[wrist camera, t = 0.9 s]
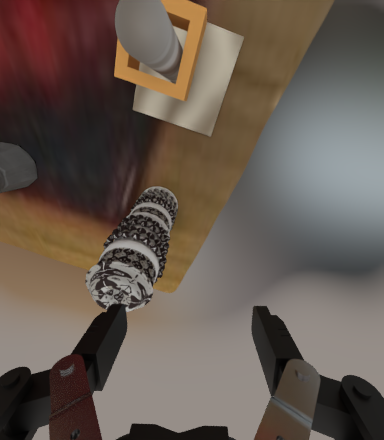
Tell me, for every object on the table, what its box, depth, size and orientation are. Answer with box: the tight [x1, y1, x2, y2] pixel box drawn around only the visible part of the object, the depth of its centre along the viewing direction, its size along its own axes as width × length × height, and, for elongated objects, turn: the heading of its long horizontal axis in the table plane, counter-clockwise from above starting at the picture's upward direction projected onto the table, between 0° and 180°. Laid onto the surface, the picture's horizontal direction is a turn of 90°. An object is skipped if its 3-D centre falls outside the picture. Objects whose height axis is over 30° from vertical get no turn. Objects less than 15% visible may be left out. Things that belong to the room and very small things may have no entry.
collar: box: [114, 0, 207, 101], centre depth 16 cm, size 6×6×3 cm
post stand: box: [115, 0, 244, 137], centre depth 22 cm, size 14×14×26 cm
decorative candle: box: [86, 186, 178, 312], centre depth 34 cm, size 9×9×25 cm
